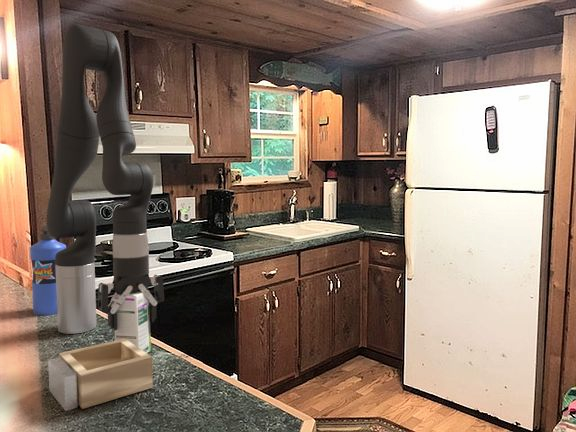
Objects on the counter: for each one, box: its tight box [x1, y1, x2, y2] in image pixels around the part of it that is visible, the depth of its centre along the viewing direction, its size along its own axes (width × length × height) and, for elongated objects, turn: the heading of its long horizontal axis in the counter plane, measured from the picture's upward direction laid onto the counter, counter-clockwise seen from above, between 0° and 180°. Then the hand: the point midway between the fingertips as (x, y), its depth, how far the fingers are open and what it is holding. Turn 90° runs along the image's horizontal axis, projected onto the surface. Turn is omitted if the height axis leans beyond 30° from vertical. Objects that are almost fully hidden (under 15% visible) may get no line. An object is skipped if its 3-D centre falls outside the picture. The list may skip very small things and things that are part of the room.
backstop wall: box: [47, 356, 79, 412], centre depth 88 cm, size 10×2×6 cm, turn 41°
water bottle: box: [29, 224, 67, 316], centre depth 140 cm, size 9×9×25 cm
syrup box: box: [112, 289, 152, 354], centre depth 108 cm, size 6×6×14 cm
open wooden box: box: [58, 338, 154, 410], centre depth 93 cm, size 13×13×6 cm
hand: (133, 325), depth 108 cm, fingers open, 8 cm apart
